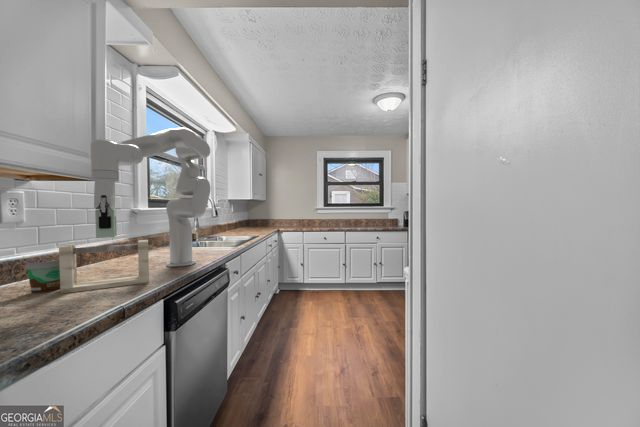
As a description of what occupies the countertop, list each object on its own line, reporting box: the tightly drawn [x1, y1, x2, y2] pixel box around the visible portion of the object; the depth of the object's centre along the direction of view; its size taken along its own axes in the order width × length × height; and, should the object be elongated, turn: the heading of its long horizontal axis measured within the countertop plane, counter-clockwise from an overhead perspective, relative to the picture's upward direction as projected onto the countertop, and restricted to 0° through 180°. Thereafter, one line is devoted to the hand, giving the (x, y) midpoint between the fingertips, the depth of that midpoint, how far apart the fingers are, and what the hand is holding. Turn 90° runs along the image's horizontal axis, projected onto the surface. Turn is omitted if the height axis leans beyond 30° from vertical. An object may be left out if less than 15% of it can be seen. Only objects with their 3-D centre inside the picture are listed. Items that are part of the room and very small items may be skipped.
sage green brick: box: [94, 208, 118, 239], centre depth 96 cm, size 7×5×10 cm
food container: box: [24, 259, 60, 294], centre depth 93 cm, size 12×6×10 cm, turn 168°
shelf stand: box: [58, 239, 150, 295], centre depth 96 cm, size 6×24×15 cm, turn 121°
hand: (106, 227), depth 96 cm, fingers closed on sage green brick, 7 cm apart
